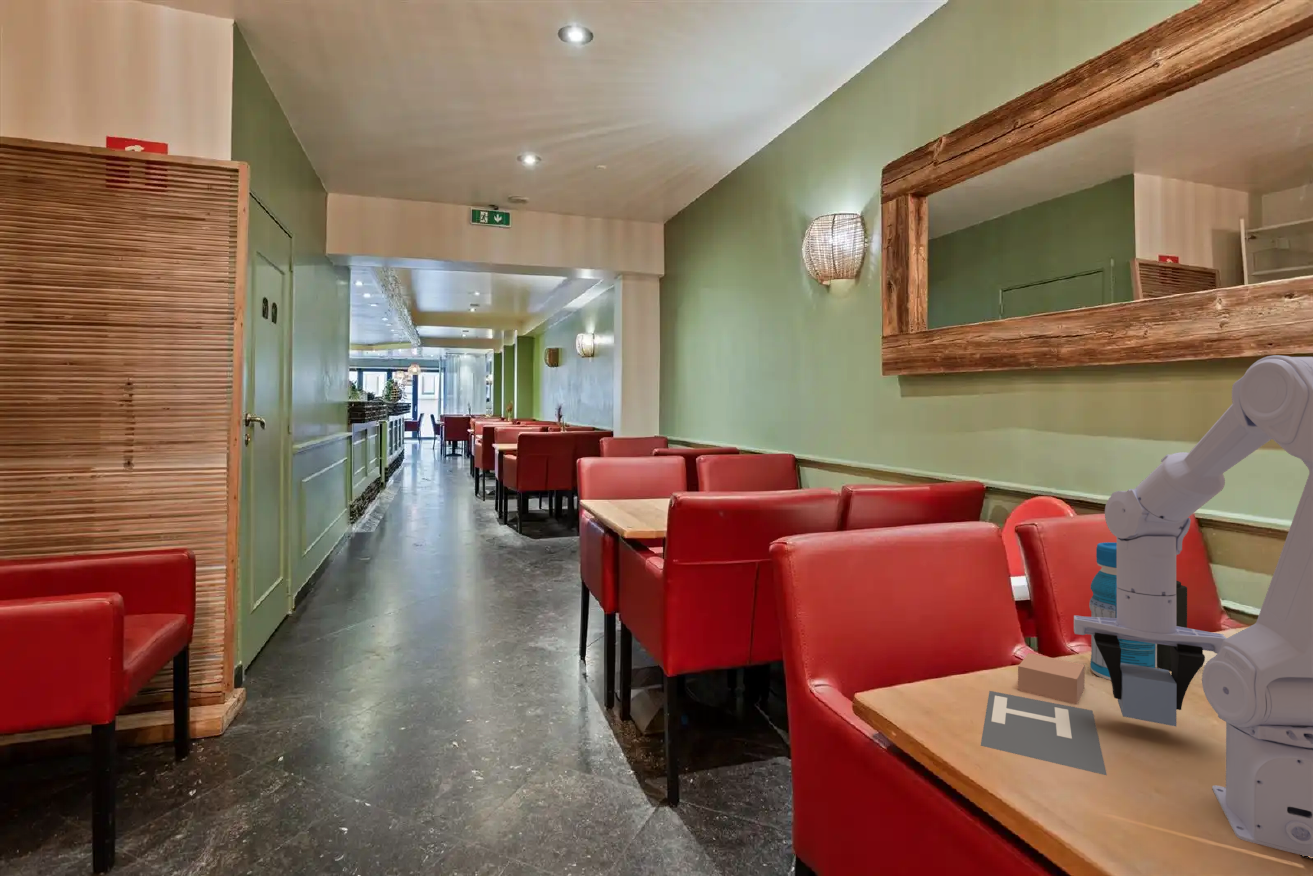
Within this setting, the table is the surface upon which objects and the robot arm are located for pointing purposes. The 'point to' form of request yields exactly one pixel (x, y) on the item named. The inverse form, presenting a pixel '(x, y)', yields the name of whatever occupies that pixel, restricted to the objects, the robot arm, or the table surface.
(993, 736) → the letter mat
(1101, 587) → the blue supplement bottle
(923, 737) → the table surface
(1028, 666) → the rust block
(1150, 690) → the blue cube
